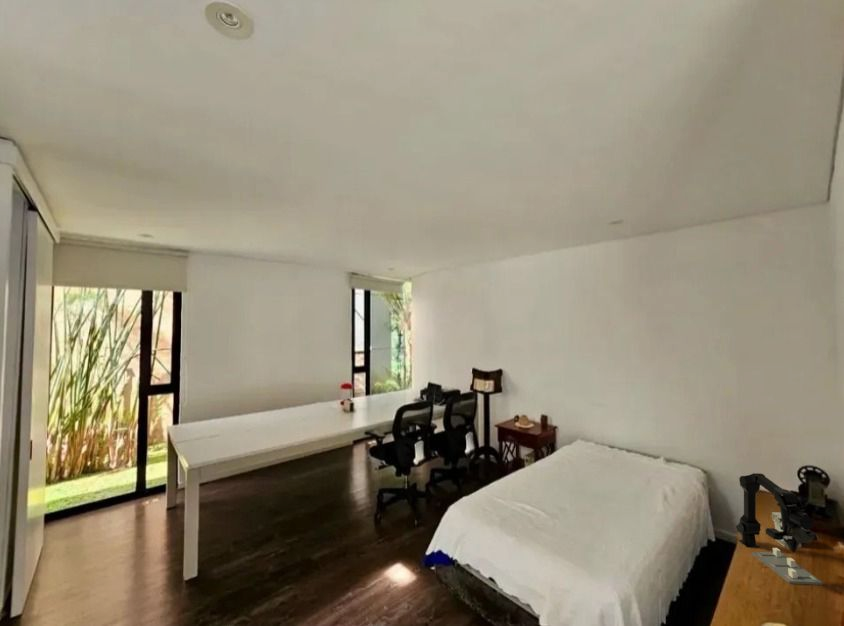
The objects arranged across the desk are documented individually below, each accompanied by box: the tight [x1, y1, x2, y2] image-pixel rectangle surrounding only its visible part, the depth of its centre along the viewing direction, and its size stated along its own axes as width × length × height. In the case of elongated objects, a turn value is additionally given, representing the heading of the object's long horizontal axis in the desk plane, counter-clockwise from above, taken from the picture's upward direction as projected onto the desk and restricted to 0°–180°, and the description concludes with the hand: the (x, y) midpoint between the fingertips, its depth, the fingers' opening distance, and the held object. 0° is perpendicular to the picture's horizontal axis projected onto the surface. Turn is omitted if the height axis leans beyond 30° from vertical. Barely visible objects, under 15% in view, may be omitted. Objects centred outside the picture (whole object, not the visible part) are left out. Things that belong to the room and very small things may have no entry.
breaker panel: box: [751, 551, 824, 586], centre depth 187 cm, size 24×14×1 cm, turn 172°
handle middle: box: [787, 557, 796, 567], centre depth 187 cm, size 2×2×3 cm
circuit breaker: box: [771, 511, 803, 548], centre depth 209 cm, size 8×14×15 cm, turn 78°
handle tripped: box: [788, 568, 798, 579], centre depth 179 cm, size 2×2×3 cm
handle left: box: [772, 547, 782, 557], centre depth 196 cm, size 2×2×3 cm
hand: (793, 552), depth 180 cm, fingers closed
